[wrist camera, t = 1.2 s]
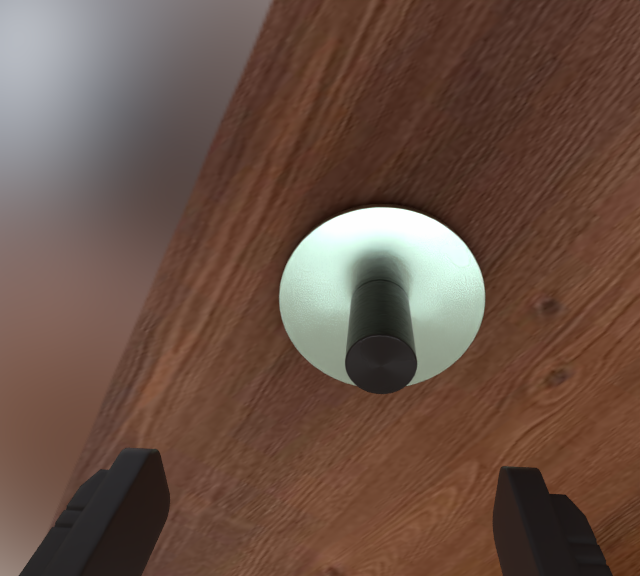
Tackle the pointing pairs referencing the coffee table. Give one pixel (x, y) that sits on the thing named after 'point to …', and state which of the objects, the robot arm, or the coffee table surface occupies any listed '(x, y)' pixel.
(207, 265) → the coffee table surface
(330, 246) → the pot lid
